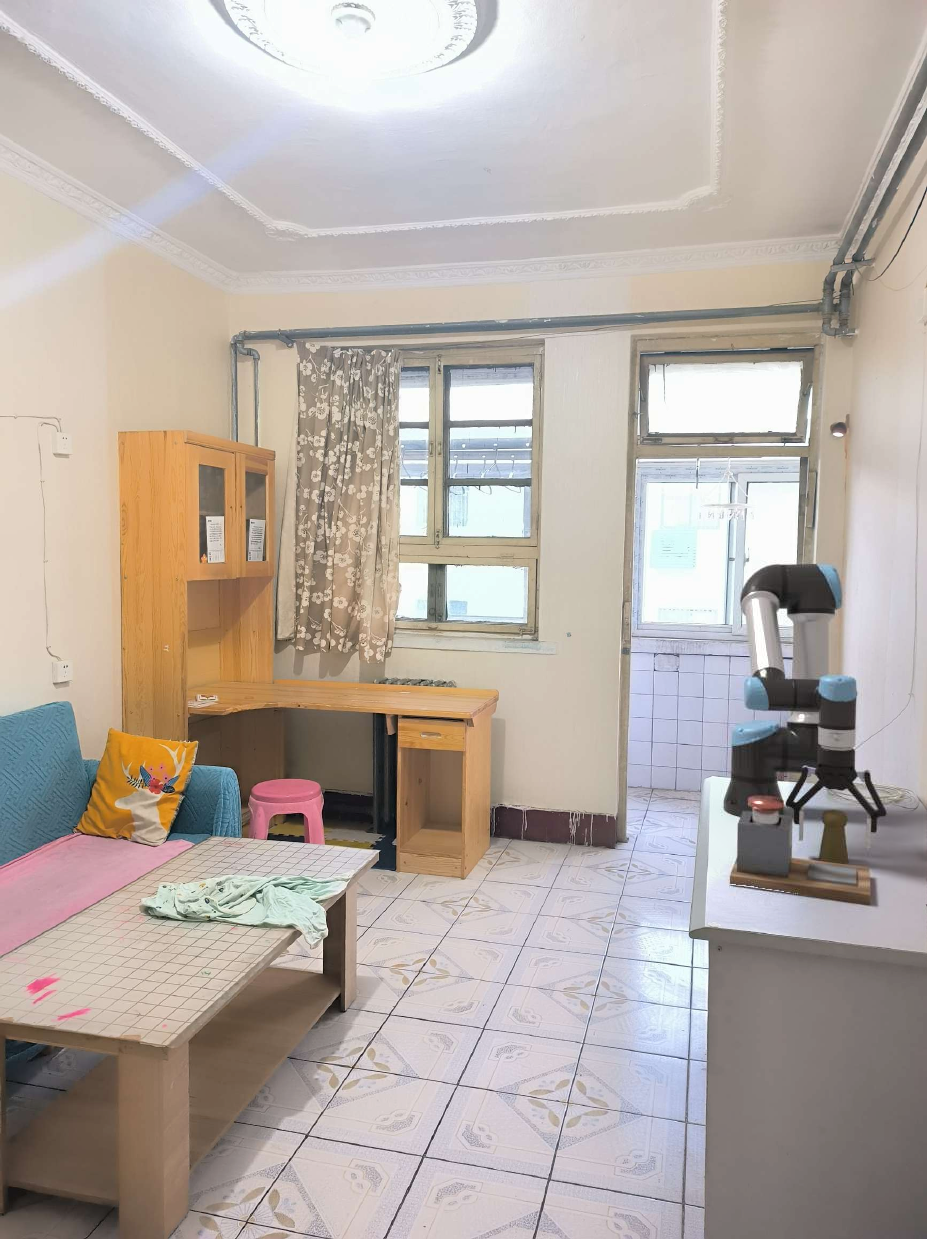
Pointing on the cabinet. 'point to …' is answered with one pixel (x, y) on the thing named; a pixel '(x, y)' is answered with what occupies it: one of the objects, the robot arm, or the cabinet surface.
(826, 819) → the olive knobbed peg
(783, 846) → the grey push button box
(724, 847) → the cabinet surface
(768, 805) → the press plunger
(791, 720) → the robot arm
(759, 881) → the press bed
